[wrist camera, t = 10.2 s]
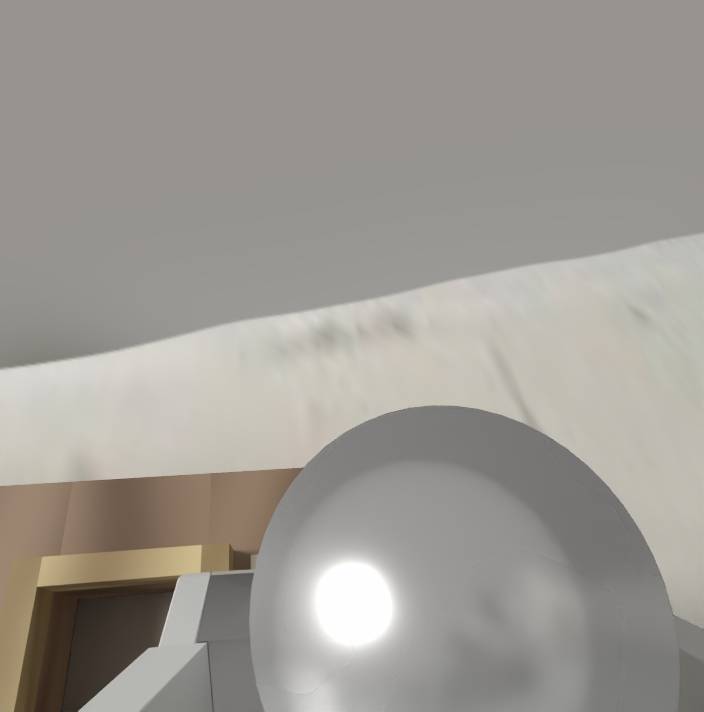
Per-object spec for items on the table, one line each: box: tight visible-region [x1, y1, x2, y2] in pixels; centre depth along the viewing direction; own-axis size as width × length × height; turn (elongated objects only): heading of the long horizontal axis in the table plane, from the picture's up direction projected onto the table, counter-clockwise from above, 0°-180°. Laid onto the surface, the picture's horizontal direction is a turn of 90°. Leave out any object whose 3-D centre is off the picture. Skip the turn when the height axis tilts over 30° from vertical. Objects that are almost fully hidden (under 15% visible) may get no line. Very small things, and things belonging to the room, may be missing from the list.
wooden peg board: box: [0, 468, 303, 712], centre depth 20 cm, size 24×14×4 cm, turn 95°
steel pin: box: [249, 406, 680, 712], centre depth 10 cm, size 4×4×12 cm
